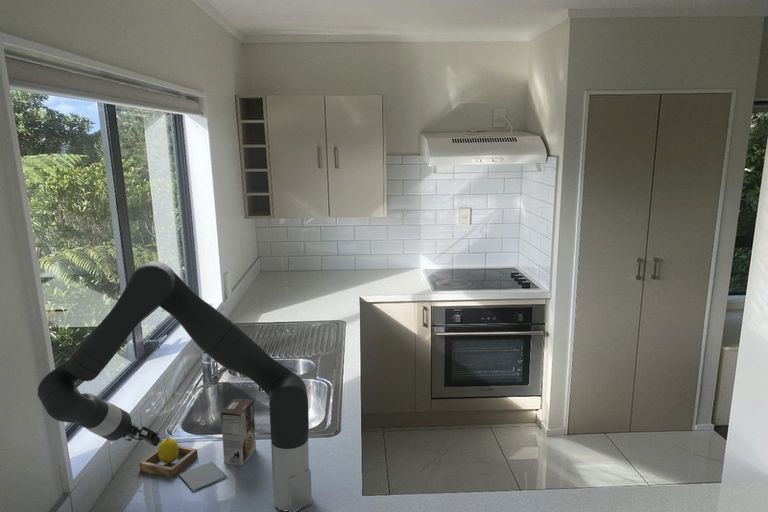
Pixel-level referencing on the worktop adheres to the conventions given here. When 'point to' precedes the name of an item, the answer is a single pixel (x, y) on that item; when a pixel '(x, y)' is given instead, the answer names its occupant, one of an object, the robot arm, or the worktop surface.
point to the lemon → (168, 450)
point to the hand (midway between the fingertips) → (144, 439)
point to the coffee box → (238, 431)
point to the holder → (166, 471)
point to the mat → (203, 475)
